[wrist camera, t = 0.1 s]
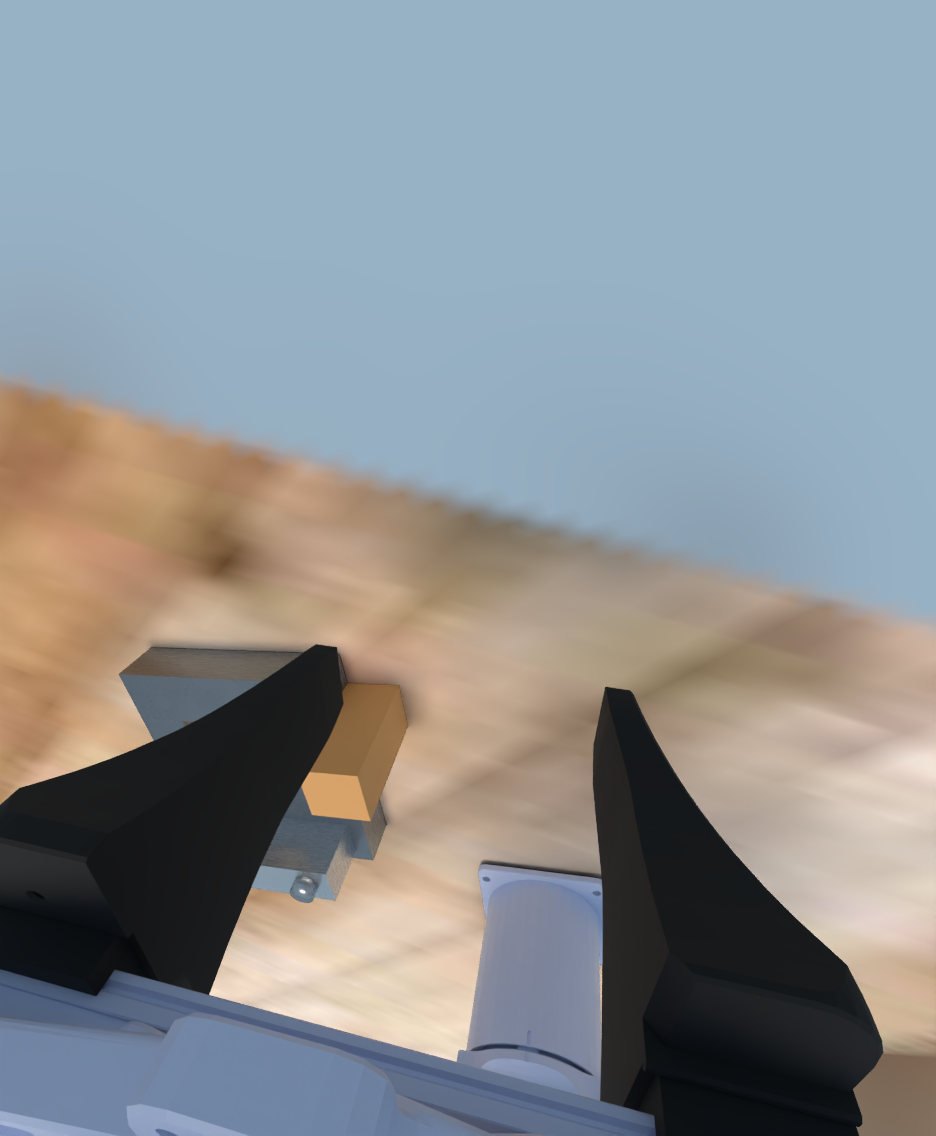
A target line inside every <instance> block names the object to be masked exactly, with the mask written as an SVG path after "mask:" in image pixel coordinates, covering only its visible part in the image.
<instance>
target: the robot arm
mask: <svg viewBox="0 0 936 1136" xmlns="http://www.w3.org/2000/svg"><path fill="white" fill-rule="evenodd" d="M343 704H344V702H343V694H342V685H341V677H340V669H339V660H338V652H337V647H330V646H324V645H317V644H316V645H315V646H313V647H311V648H310V649H308V650H307V651H305V652H304V653H302V654H301V655H300V656H298V657H297V658H295V659H294V660H292V661H291V662H289V663H288V664H286V665H285V666H284V667H282V668H281V669H279V670H278V671H276V672H275V673H273V674H272V675H270V676H269V677H267V678H266V679H264V680H263V681H261V682H260V683H258V684H257V685H255V686H254V687H252V688H251V689H249V690H247V691H246V692H244V693H243V694H241V695H239V696H238V697H236V698H234V699H233V700H231V701H230V702H228V703H226V704H225V705H223V706H221V707H220V708H218V709H216V710H215V711H213V712H211V713H209V714H207V715H206V716H204V717H202V718H200V719H198V720H196V721H194V722H192V723H190V724H188V725H186V726H184V727H183V728H181V729H179V730H176V731H174V732H172V733H170V734H168V735H166V736H163V737H161V738H159V739H157V740H154V741H152V742H150V743H148V744H145V745H143V746H141V747H139V748H136V749H134V750H132V751H129V752H127V753H124V754H122V755H119V756H116V757H114V758H111V759H109V760H106V761H103V762H100V763H98V764H95V765H92V766H89V767H86V768H83V769H81V770H78V771H75V772H72V773H68V774H65V775H62V776H58V777H55V778H52V779H49V780H45V781H42V782H39V783H36V784H32V785H29V786H25V787H22V788H19V789H18V790H17V791H15V792H14V793H13V794H12V795H11V796H10V797H9V798H8V799H6V800H5V801H4V802H3V803H2V804H1V805H0V1136H859V1134H858V1131H857V1128H856V1126H857V1127H860V1126H861V1125H862V1115H861V1112H860V1109H859V1107H858V1103H857V1100H856V1098H855V1095H854V1092H853V1088H854V1087H855V1086H856V1085H857V1084H858V1083H859V1082H860V1081H861V1080H862V1079H863V1078H864V1077H865V1076H866V1075H867V1074H868V1073H869V1072H870V1071H871V1070H872V1069H873V1068H874V1067H875V1066H876V1064H877V1062H878V1060H879V1059H880V1057H881V1055H882V1054H883V1046H882V1039H881V1037H880V1035H879V1032H878V1030H877V1027H876V1025H875V1022H874V1020H873V1017H872V1015H871V1012H870V1010H869V1008H868V1006H867V1004H866V1001H865V999H864V997H863V995H862V993H861V991H860V989H859V987H858V985H857V983H856V982H855V980H854V978H853V976H852V974H851V972H850V970H849V968H848V966H847V965H846V964H845V963H844V962H843V961H842V960H841V959H840V958H839V957H838V956H836V955H835V954H834V953H833V952H832V951H831V950H830V949H829V948H828V947H827V946H825V945H824V944H823V943H822V942H821V941H820V940H819V939H818V938H817V937H816V936H814V935H813V934H812V933H811V932H810V931H809V930H808V929H807V928H806V927H805V926H803V925H802V924H801V923H800V922H799V921H798V920H797V919H796V918H795V917H794V916H793V915H792V914H791V913H790V912H789V911H788V910H787V909H786V908H785V907H784V906H783V905H782V904H781V903H780V902H779V901H778V900H777V899H776V898H775V897H774V896H773V895H772V894H771V893H770V892H769V891H768V890H767V889H766V888H765V887H764V886H763V885H762V884H761V882H760V881H759V880H758V879H757V878H756V877H755V876H754V875H753V874H752V872H751V871H750V870H749V869H748V868H747V867H746V866H745V865H744V864H743V862H742V861H741V860H740V859H739V858H738V857H737V856H736V855H735V854H734V852H733V851H732V850H731V849H730V848H729V846H728V845H727V844H726V843H725V841H724V840H723V839H722V838H721V836H720V835H719V834H718V833H717V832H716V830H715V829H714V828H713V826H712V825H711V824H710V822H709V821H708V820H707V818H706V817H705V816H704V814H703V813H702V812H701V810H700V809H699V808H698V806H697V805H696V803H695V802H694V801H693V799H692V798H691V796H690V795H689V793H688V792H687V790H686V789H685V787H684V786H683V784H682V783H681V781H680V780H679V778H678V777H677V775H676V773H675V772H674V770H673V769H672V767H671V765H670V764H669V762H668V760H667V759H666V757H665V755H664V753H663V752H662V750H661V748H660V746H659V745H658V743H657V741H656V739H655V738H654V736H653V734H652V732H651V730H650V728H649V726H648V724H647V722H646V720H645V718H644V716H643V714H642V712H641V710H640V708H639V705H638V703H637V701H636V699H635V696H634V694H633V693H632V692H631V691H630V690H623V689H616V688H609V687H605V691H604V696H603V701H602V706H601V711H600V716H599V721H598V726H597V731H596V736H595V741H594V751H593V790H594V801H595V812H596V822H597V833H598V843H599V853H600V864H601V876H602V880H601V879H599V878H593V877H585V876H577V875H569V874H561V873H553V872H545V871H537V870H529V869H520V868H512V867H504V866H496V865H488V864H483V865H481V866H479V872H478V874H479V880H480V887H481V893H482V899H483V906H484V912H485V918H486V923H485V930H484V937H483V943H482V950H481V957H480V963H479V970H478V977H477V983H476V990H475V997H474V1003H473V1010H472V1016H471V1023H470V1030H469V1036H468V1043H467V1050H466V1051H464V1050H459V1051H458V1057H457V1062H455V1061H451V1060H447V1059H444V1058H440V1057H436V1056H432V1055H429V1054H425V1053H421V1052H418V1051H414V1050H410V1049H407V1048H403V1047H399V1046H395V1045H392V1044H388V1043H384V1042H381V1041H377V1040H373V1039H370V1038H366V1037H362V1036H358V1035H355V1034H351V1033H347V1032H344V1031H340V1030H336V1029H333V1028H329V1027H325V1026H321V1025H318V1024H314V1023H310V1022H307V1021H303V1020H299V1019H296V1018H292V1017H288V1016H284V1015H281V1014H277V1013H273V1012H270V1011H266V1010H262V1009H259V1008H255V1007H251V1006H248V1005H244V1004H240V1003H236V1002H233V1001H229V1000H225V999H222V998H218V997H214V996H211V995H209V993H210V991H211V988H212V985H213V983H214V980H215V977H216V975H217V972H218V969H219V967H220V964H221V961H222V959H223V956H224V953H225V951H226V948H227V945H228V943H229V940H230V938H231V935H232V933H233V930H234V928H235V925H236V923H237V920H238V918H239V916H240V913H241V911H242V908H243V906H244V903H245V901H246V898H247V896H248V894H249V891H250V889H251V887H252V884H253V882H254V880H255V878H256V875H257V873H258V871H259V868H260V866H261V864H262V861H263V859H264V857H265V855H266V853H267V851H268V848H269V846H270V844H271V842H272V840H273V838H274V835H275V833H276V831H277V829H278V827H279V825H280V823H281V821H282V819H283V817H284V815H285V813H286V812H287V810H288V808H289V806H290V804H291V803H292V801H293V799H294V798H295V796H296V794H297V793H298V791H299V789H300V787H301V786H302V784H303V782H304V781H305V779H306V777H307V776H308V774H309V772H310V770H311V769H312V767H313V765H314V764H315V762H316V760H317V758H318V757H319V755H320V753H321V752H322V750H323V748H324V746H325V745H326V743H327V741H328V739H329V737H330V735H331V733H332V731H333V728H334V726H335V724H336V722H337V719H338V717H339V714H340V712H341V709H342V707H343ZM601 964H602V1040H601V1009H600V973H599V965H601Z"/></svg>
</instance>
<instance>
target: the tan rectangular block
mask: <svg viewBox="0 0 936 1136" xmlns="http://www.w3.org/2000/svg"><path fill="white" fill-rule="evenodd" d="M342 694H343V702H344V704H343V707H342V709H341V712H340V714H339V717H338V719H337V722H336V724H335V726H334V728H333V731H332V733H331V735H330V737H329V739H328V741H327V743H326V745H325V746H324V748H323V750H322V752H321V753H320V755H319V757H318V758H317V760H316V762H315V764H314V765H313V767H312V769H311V770H310V772H309V774H308V776H307V777H306V779H305V781H304V782H303V784H302V786H301V787H302V789H303V792H304V795H305V797H306V800H307V803H308V806H309V808H310V811H311V814H312V815H317V816H326V817H335V818H345V819H354V820H363V821H371V819H372V817H373V814H374V811H375V809H376V806H377V804H378V801H379V799H380V796H381V794H382V791H383V789H384V786H385V784H386V781H387V779H388V776H389V773H390V771H391V768H392V766H393V763H394V761H395V758H396V756H397V753H398V751H399V748H400V746H401V743H402V740H403V738H404V735H405V733H406V730H407V728H408V724H407V720H406V715H405V710H404V706H403V701H402V696H401V692H400V687H399V685H380V684H359V683H347V685H346V687H345V689H344V690H343V692H342Z"/></svg>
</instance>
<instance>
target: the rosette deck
mask: <svg viewBox="0 0 936 1136" xmlns="http://www.w3.org/2000/svg"><path fill="white" fill-rule="evenodd" d="M301 654H302V653H288V652H259V651H231V650H203V649H174V648H150V649H149V650H147V651H146V652H145V653H144V654H142V655H141V656H140V657H139V658H138V659H136V660H135V661H134V662H133V663H132V664H130V665H129V666H128V667H127V668H126V669H124V670H123V671H122V672H121V673H120V674H119V676H120V678H121V679H122V681H123V683H124V685H125V687H126V689H127V691H128V693H129V694H130V696H131V698H132V700H133V702H134V704H135V706H136V708H137V710H138V711H139V713H140V715H141V717H142V719H143V721H144V723H145V725H146V727H147V728H148V730H149V732H150V734H151V736H152V738H153V740H157V739H159V738H161V737H163V736H166V735H168V734H170V733H172V732H174V731H176V730H179V729H181V728H183V727H184V726H186V725H188V724H190V723H192V722H194V721H196V720H198V719H200V718H202V717H204V716H206V715H207V714H209V713H211V712H213V711H215V710H216V709H218V708H220V707H221V706H223V705H225V704H226V703H228V702H230V701H231V700H233V699H234V698H236V697H238V696H239V695H241V694H243V693H244V692H246V691H247V690H249V689H251V688H252V687H254V686H255V685H257V684H258V683H260V682H261V681H263V680H264V679H266V678H267V677H269V676H270V675H272V674H273V673H275V672H276V671H278V670H279V669H281V668H282V667H284V666H285V665H286V664H288V663H289V662H291V661H292V660H294V659H295V658H297V657H298V656H300V655H301ZM338 660H339V669H340V677H341V685H342V692H343V690H344V689H345V687H346V685H347V680H346V677H345V673H344V669H343V666H342V662H341V658H340V655H339V654H338ZM385 827H386V823H385V819H384V815H383V812H382V808H381V804H380V801H378V804H377V806H376V809H375V811H374V814H373V817H372V819H371V821H363V820H354V819H345V818H335V817H326V816H317V815H312V814H311V811H310V808H309V806H308V803H307V800H306V797H305V795H304V792H303V789H302V787H300V789H299V791H298V793H297V794H296V796H295V798H294V799H293V801H292V803H291V804H290V806H289V808H288V810H287V812H286V813H285V815H284V817H283V819H282V821H281V823H280V825H279V827H278V829H277V831H276V833H275V835H274V838H273V840H272V842H271V844H270V846H269V848H268V851H267V853H266V855H265V857H264V859H263V861H262V864H261V866H260V868H259V871H258V873H257V875H256V878H255V880H254V882H253V884H252V887H251V888H255V889H262V890H269V891H275V892H282V893H289V894H290V895H291V896H292V897H293V898H294V899H296V900H298V901H300V902H304V903H310V902H312V901H313V899H314V897H316V898H322V899H329V900H336V899H337V896H338V894H339V891H340V889H341V886H342V884H343V881H344V879H345V876H346V874H347V871H348V869H349V866H350V864H351V861H352V859H353V858H359V859H367V860H374V858H375V855H376V852H377V849H378V847H379V844H380V841H381V838H382V836H383V833H384V830H385Z"/></svg>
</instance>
